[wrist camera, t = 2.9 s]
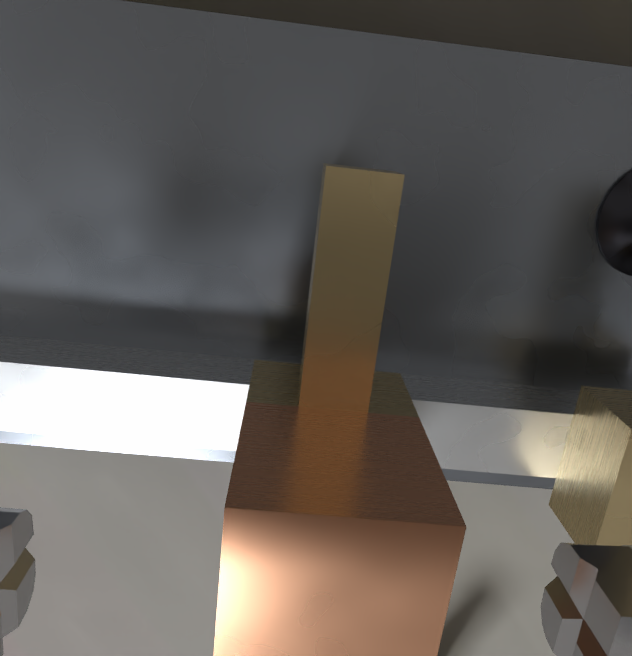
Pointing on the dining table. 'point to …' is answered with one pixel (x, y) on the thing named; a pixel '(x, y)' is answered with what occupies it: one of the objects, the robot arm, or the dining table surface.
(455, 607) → the dining table surface
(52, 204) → the bolt plate
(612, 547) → the robot arm
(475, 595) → the dining table surface
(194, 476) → the dining table surface
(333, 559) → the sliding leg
